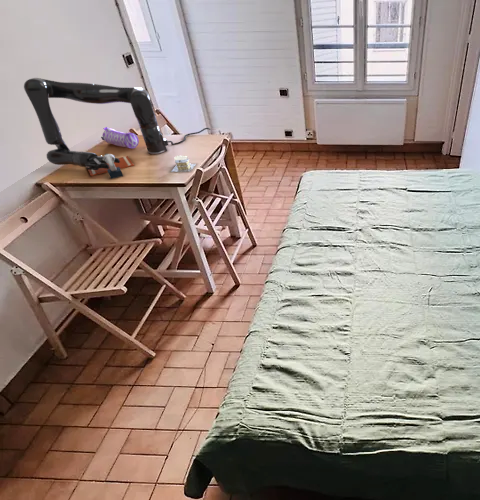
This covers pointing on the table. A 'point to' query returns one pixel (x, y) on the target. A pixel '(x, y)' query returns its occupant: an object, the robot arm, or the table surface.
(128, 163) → the cloth
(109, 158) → the watch
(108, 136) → the pencil case
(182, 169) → the stacked layers on plate
